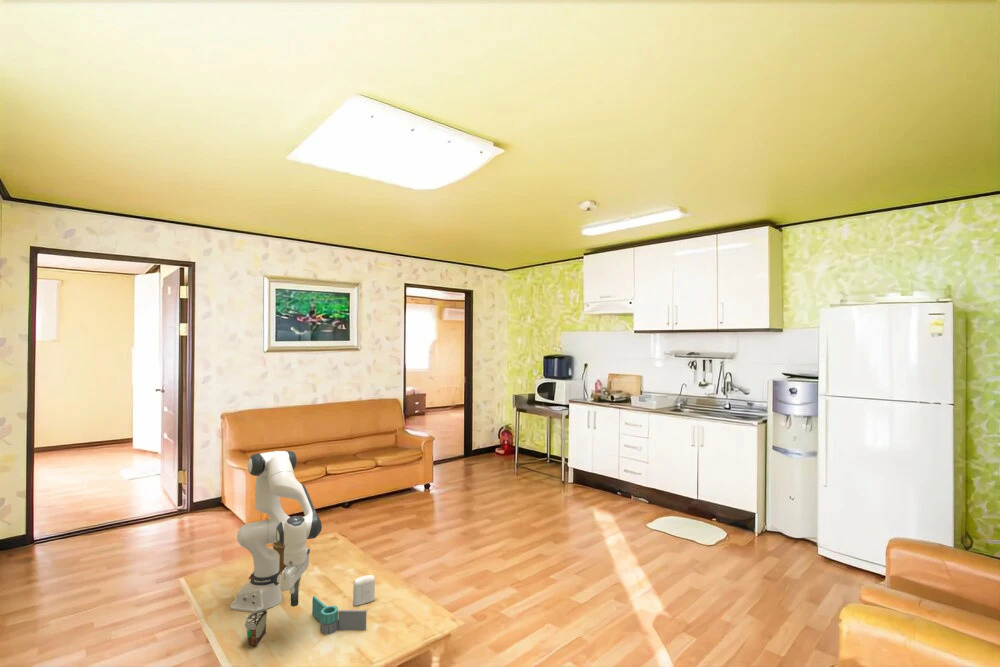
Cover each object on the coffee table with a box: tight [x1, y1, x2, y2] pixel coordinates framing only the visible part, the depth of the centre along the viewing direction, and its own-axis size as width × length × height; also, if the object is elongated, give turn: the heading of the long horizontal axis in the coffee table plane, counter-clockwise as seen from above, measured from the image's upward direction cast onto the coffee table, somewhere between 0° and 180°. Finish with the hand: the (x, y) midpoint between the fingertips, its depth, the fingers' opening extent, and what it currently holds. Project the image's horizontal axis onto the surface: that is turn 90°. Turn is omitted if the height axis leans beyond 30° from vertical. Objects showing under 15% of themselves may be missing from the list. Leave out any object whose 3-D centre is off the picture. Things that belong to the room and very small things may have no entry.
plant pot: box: [272, 542, 287, 574], centre depth 263 cm, size 15×15×16 cm
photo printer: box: [352, 574, 376, 607], centre depth 232 cm, size 10×4×12 cm, turn 123°
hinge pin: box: [290, 579, 300, 607], centre depth 202 cm, size 3×3×12 cm
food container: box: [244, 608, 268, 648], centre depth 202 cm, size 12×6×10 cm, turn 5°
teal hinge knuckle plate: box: [311, 595, 339, 624], centre depth 214 cm, size 20×7×8 cm, turn 45°
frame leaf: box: [320, 609, 367, 635], centre depth 210 cm, size 20×7×8 cm, turn 90°
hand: (294, 589), depth 202 cm, fingers closed on hinge pin, 3 cm apart
